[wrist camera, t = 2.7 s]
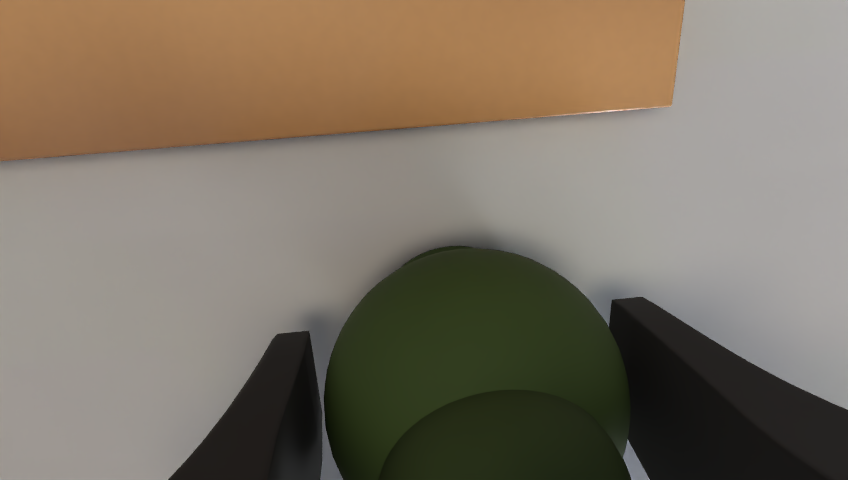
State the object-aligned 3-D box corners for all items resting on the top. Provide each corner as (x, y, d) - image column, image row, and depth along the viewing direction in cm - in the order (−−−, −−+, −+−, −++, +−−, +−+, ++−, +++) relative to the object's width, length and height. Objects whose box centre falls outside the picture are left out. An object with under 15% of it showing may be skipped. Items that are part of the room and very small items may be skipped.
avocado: (565, 391, 16) (714, 725, 10) (341, 416, 16) (339, 782, 9) (578, 185, 13) (794, 448, 7) (312, 208, 13) (280, 509, 7)
